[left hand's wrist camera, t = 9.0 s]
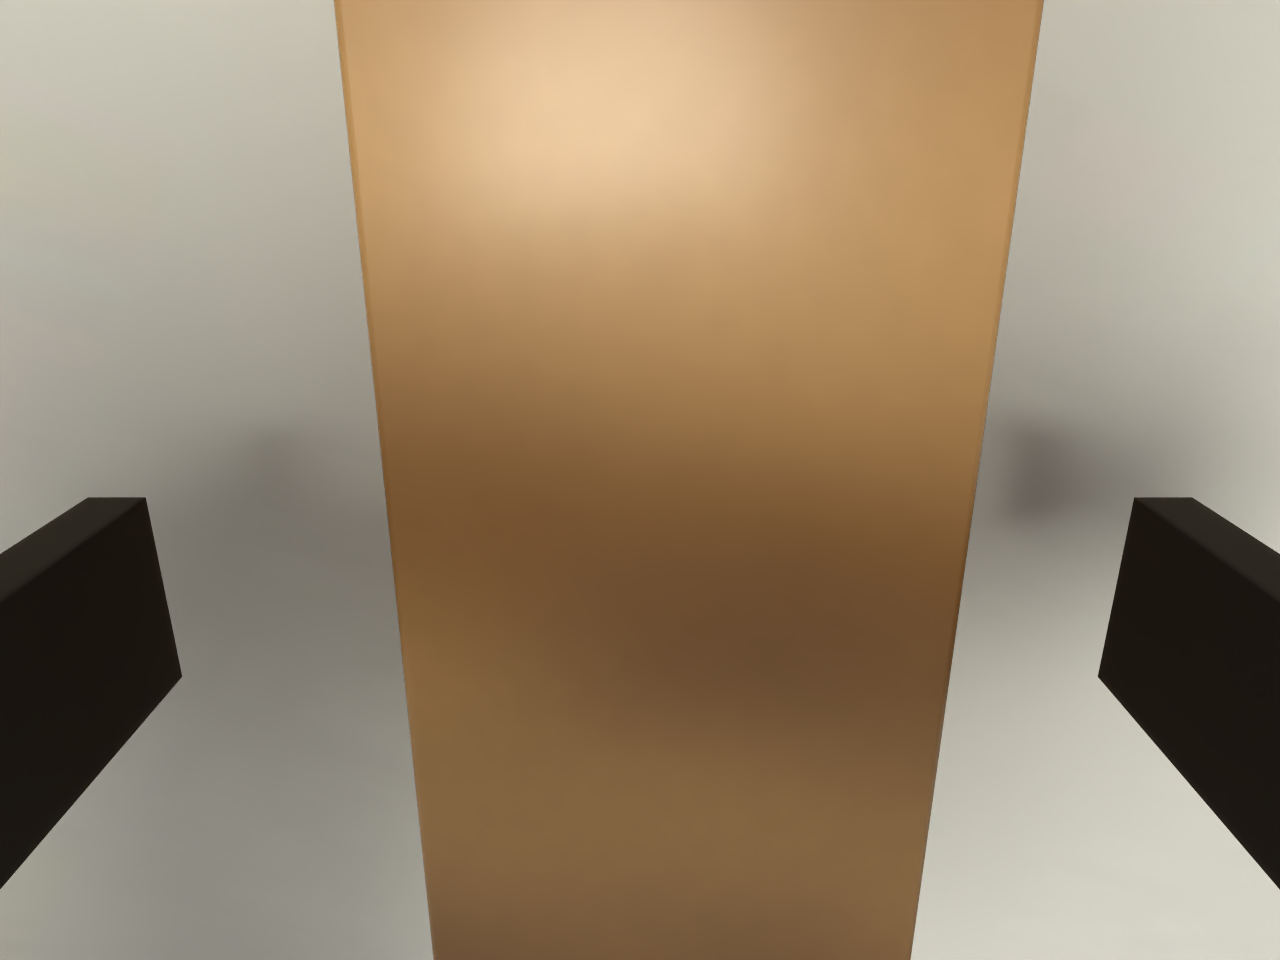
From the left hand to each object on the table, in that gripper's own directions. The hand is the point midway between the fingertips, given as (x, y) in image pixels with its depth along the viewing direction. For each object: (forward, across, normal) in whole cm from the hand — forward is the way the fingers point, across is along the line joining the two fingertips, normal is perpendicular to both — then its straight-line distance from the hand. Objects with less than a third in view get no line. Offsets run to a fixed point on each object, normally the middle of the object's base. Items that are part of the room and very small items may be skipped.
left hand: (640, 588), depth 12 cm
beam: (+5, 0, -22) cm, 22 cm away
